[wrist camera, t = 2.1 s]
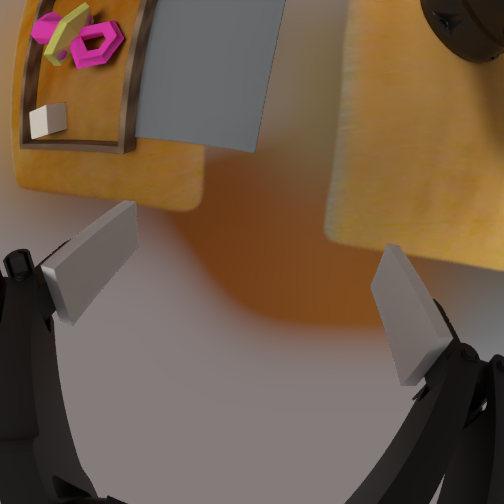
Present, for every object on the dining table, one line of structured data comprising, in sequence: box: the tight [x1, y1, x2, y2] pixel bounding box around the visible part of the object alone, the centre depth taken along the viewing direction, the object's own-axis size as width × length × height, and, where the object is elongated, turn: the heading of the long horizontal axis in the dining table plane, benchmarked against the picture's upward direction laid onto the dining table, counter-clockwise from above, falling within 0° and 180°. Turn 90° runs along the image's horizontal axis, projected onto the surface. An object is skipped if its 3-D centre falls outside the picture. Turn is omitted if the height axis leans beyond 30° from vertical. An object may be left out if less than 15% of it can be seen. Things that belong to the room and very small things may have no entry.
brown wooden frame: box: [20, 0, 158, 154], centre depth 28 cm, size 32×26×4 cm
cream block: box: [29, 102, 67, 139], centre depth 33 cm, size 5×5×5 cm
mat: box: [135, 0, 286, 153], centre depth 30 cm, size 24×18×1 cm
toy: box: [31, 2, 124, 69], centre depth 24 cm, size 10×18×10 cm, turn 55°
